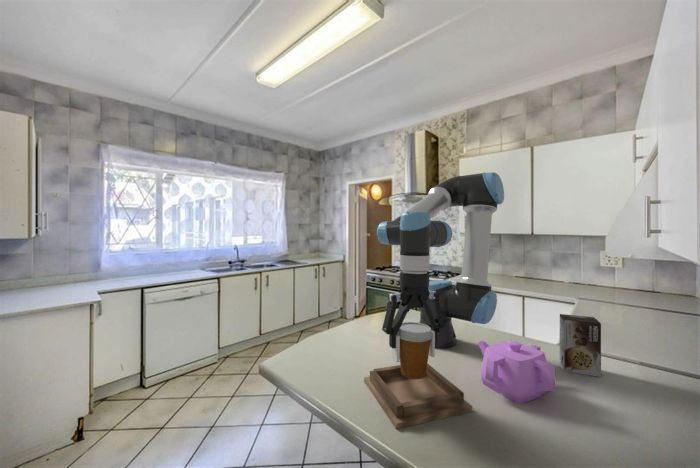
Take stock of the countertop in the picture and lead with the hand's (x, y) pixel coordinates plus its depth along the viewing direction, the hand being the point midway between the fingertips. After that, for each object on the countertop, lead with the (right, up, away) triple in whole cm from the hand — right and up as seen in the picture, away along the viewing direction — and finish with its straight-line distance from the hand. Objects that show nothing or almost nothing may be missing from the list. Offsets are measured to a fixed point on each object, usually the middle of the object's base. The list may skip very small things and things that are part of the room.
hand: (413, 357), depth 74 cm
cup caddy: (0, -10, 0) cm, 10 cm away
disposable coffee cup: (0, -4, 0) cm, 4 cm away
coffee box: (+54, -10, +14) cm, 57 cm away
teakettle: (+29, -10, +5) cm, 31 cm away
